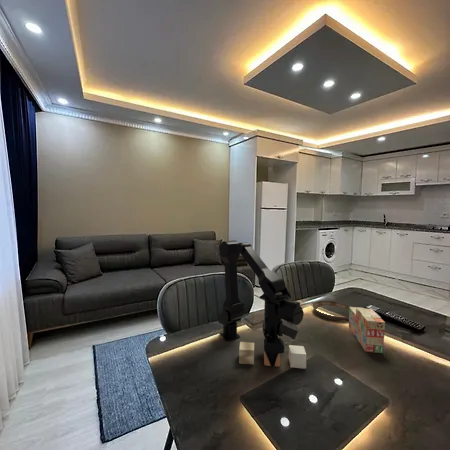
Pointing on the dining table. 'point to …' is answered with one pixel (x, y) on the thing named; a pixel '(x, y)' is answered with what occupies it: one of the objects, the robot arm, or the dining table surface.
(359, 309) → the stack of blocks
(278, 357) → the terracotta cube
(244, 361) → the birch cube
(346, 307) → the plant saucer
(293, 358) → the off-white cube
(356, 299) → the dining table surface
